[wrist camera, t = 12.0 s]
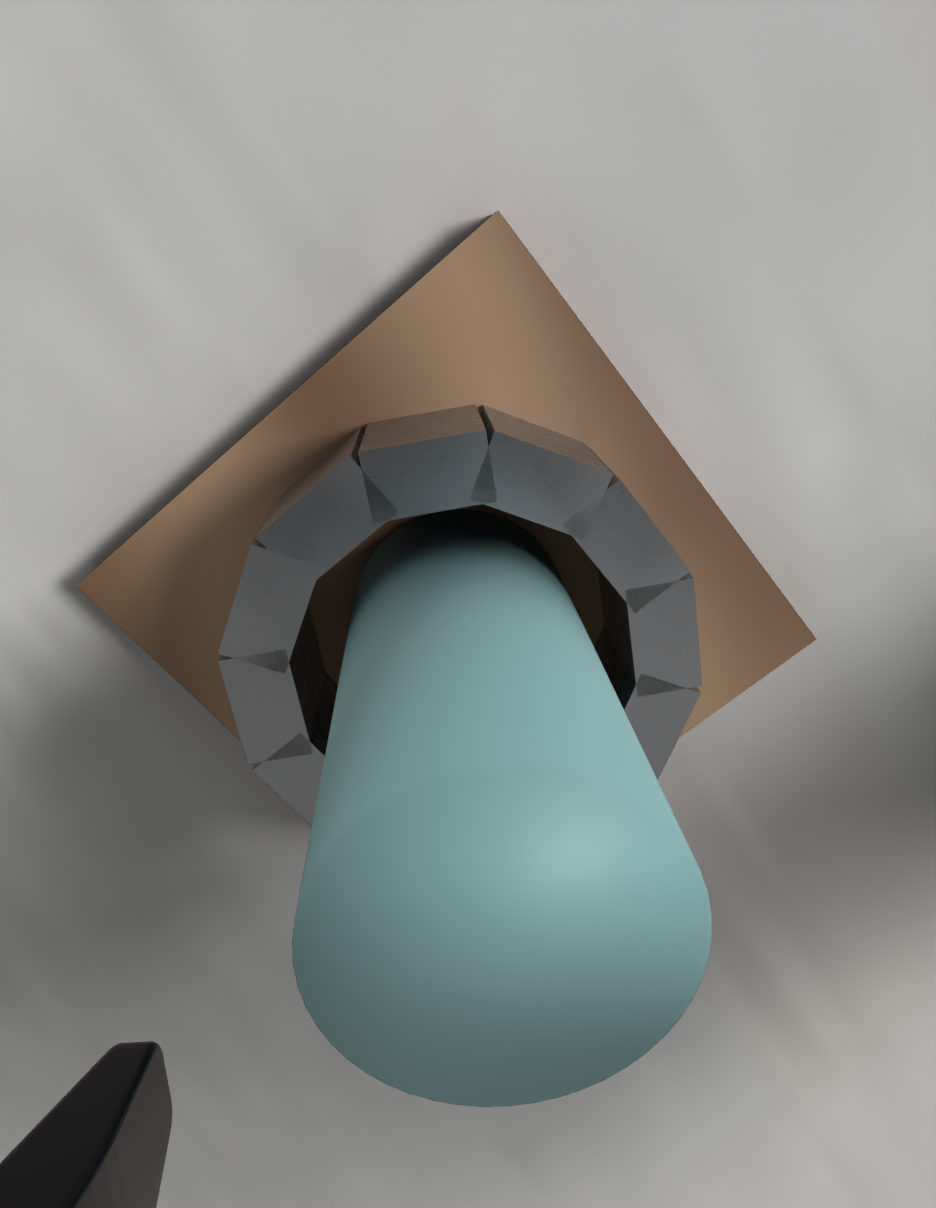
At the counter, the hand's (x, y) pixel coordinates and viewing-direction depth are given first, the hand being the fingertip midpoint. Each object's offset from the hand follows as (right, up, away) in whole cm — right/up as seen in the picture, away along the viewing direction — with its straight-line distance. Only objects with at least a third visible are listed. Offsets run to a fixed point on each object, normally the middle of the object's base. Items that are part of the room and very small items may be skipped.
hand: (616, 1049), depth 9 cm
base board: (-2, +5, +11) cm, 12 cm away
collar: (-2, +5, +11) cm, 12 cm away
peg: (-2, +4, +10) cm, 11 cm away
